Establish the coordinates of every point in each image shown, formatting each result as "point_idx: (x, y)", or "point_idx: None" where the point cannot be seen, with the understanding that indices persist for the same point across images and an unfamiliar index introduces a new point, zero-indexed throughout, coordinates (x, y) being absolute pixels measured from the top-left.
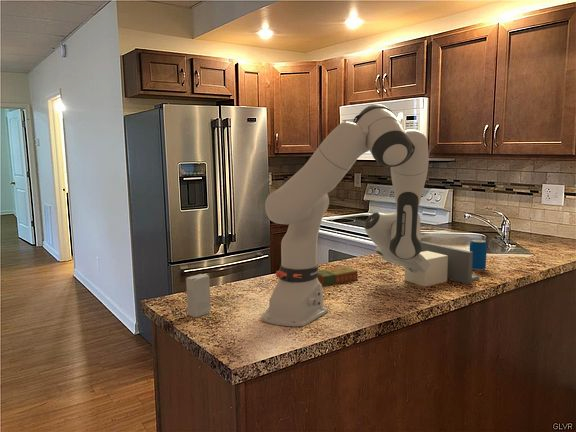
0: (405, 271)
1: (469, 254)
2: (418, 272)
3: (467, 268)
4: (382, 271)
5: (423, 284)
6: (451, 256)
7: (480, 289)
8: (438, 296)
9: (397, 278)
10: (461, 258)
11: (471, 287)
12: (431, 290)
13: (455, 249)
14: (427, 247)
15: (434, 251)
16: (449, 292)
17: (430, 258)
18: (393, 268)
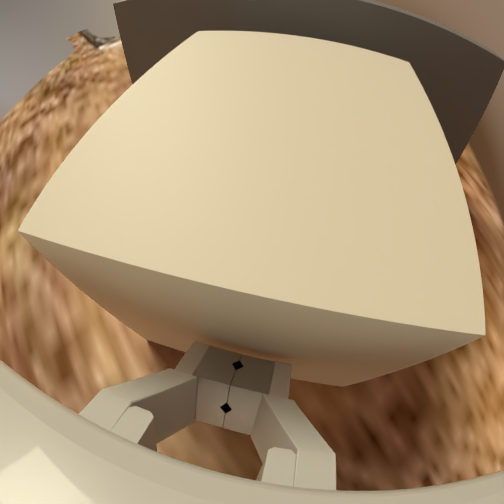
0: (125, 321)
1: (501, 70)
2: (292, 361)
3: (467, 130)
4: (7, 251)
5: (336, 384)
6: (379, 52)
7: (498, 222)
8: (481, 465)
9: (93, 327)
10: (450, 76)
11: (473, 218)
12: (416, 420)
13: (413, 16)
14: (174, 13)
15: (233, 24)
16: (485, 364)
17: (451, 196)
18: (42, 180)
